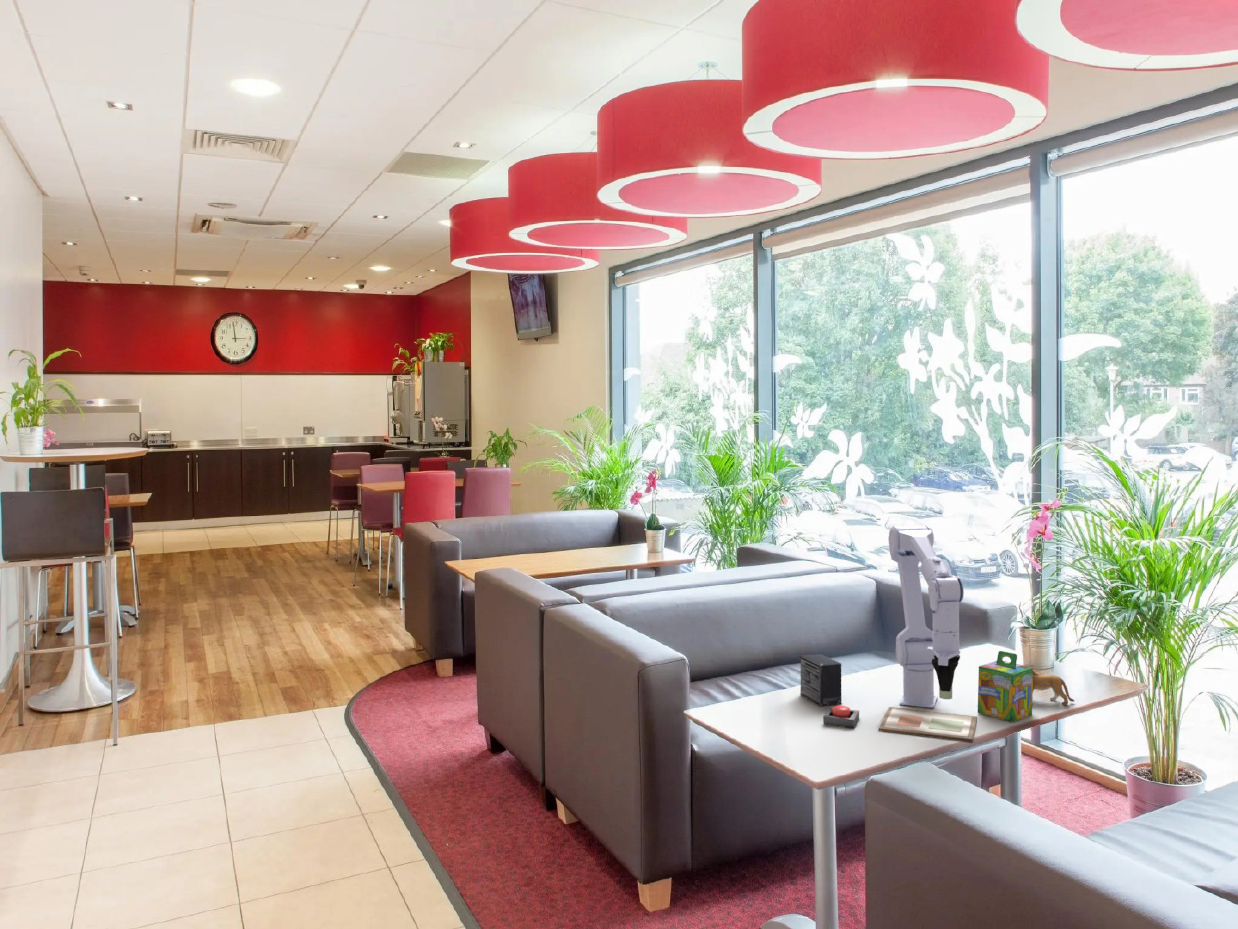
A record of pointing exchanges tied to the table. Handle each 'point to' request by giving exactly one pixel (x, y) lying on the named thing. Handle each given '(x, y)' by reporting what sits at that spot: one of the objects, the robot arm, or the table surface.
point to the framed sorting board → (929, 724)
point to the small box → (820, 679)
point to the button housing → (841, 719)
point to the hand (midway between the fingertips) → (946, 688)
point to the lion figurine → (1051, 686)
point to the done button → (841, 711)
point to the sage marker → (945, 694)
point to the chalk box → (1005, 689)
